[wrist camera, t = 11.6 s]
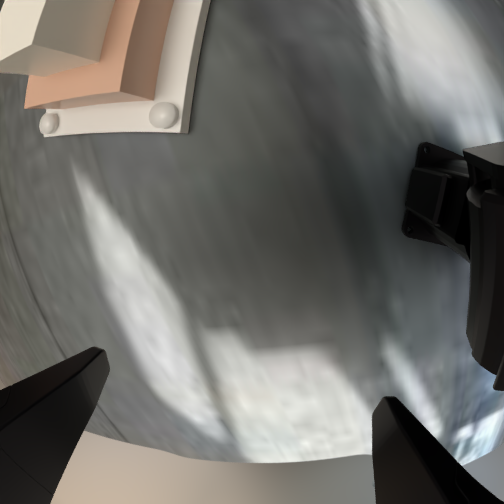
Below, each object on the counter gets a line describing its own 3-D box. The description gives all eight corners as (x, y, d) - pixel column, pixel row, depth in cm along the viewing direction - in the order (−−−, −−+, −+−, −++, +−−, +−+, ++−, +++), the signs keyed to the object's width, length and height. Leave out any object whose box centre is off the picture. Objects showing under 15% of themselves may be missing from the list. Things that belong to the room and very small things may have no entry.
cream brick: (117, -6, 8) (63, -39, 4) (98, 62, 10) (31, 44, 6) (60, 14, 9) (6, -3, 4) (44, 77, 10) (-18, 71, 6)
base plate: (215, -19, 12) (193, -60, 7) (188, 133, 16) (150, 130, 11) (80, 8, 13) (40, -10, 8) (56, 136, 17) (6, 141, 12)
